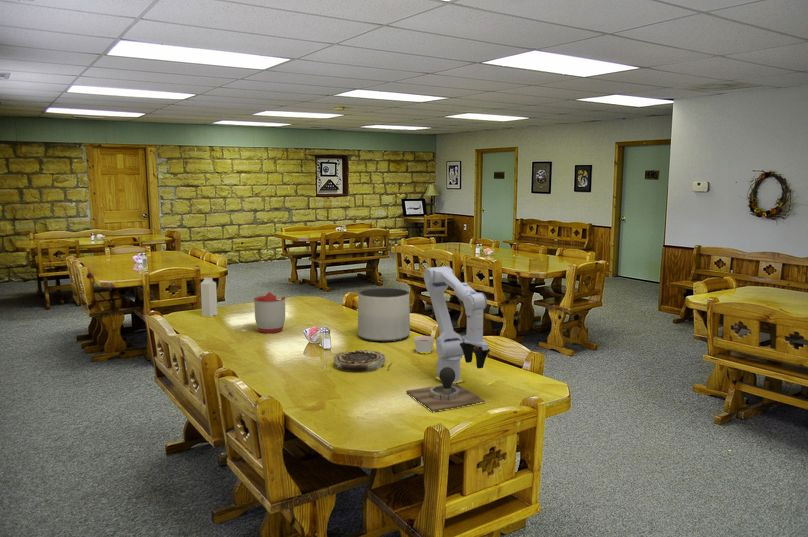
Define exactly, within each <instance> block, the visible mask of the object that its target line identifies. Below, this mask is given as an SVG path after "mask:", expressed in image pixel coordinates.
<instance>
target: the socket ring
mask: <svg viewBox="0 0 808 537" xmlns="http://www.w3.org/2000/svg"><path fill="white" fill-rule="evenodd" d="M433 386H434V387H432V386H431V387H432V388H430V397H432V398H433V399H437V400H442V401H449V400H455V399H457V398H458V397H459V389H458V388H456V387H454V386H451V392H452V393H450V394H440V393H436V392H441V391H444V388H443V384H438V385H433Z"/></svg>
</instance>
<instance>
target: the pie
mask: <svg viewBox="0 0 808 537" xmlns="http://www.w3.org/2000/svg"><path fill="white" fill-rule="evenodd" d="M385 360H389V359H388V358H386V355H385V354H384V353H382V352H380V351H376V350H375V351H374V350H368V349H357V350H350V351H349V350H348V351H345V352H339V353H337V354H335V356H333V362H334V363H335V365H336V368H337V369H339V370H342V371H347V372H355V373H356V372H359V373H362V372H363V373H364V371H365V372H371V371H372V370H373V371H377V370H376V369H379V368H380V367H381V366H382V365H383V366H384V363H385V362H386V361H385ZM381 368H382V367H381ZM370 370H371V371H370ZM379 370H380V369H379Z"/></svg>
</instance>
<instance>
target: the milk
mask: <svg viewBox="0 0 808 537" xmlns="http://www.w3.org/2000/svg"><path fill="white" fill-rule="evenodd" d="M217 294H218V293H217V282H215V281H214V280H213V277H206V276H204V277H203V280H202V281H201V282H200V299H201V300H200V301H201V303H200V304H201V316H202V315H205V316H213V315H217V316H218V296H217Z"/></svg>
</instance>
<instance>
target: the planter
mask: <svg viewBox="0 0 808 537" xmlns="http://www.w3.org/2000/svg"><path fill="white" fill-rule="evenodd" d="M357 293H358V294H357V300H358V301H357V307H358V308H357V334H358V336H359V337H360V338H361V339H363V340H365V341H368V340H369V341H370V342H374V341H393V342H395V341H394V340H399V341H401V340H400V339H402V340H404V339H403V338H405V339H406V338H408V337H409V336H410V334H411V324H410V323H411V321H410V320H411V316H410V315H411V314H410V312H411V311H410V309H411V308H410V307H411V306H410V291H409V290H406V289H401V288H394V287H393V288H392V287H375V288H374V287H373V288H365V289H362V290H360V291H358V292H357ZM407 336H408V337H407ZM369 341H368V342H369Z"/></svg>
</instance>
